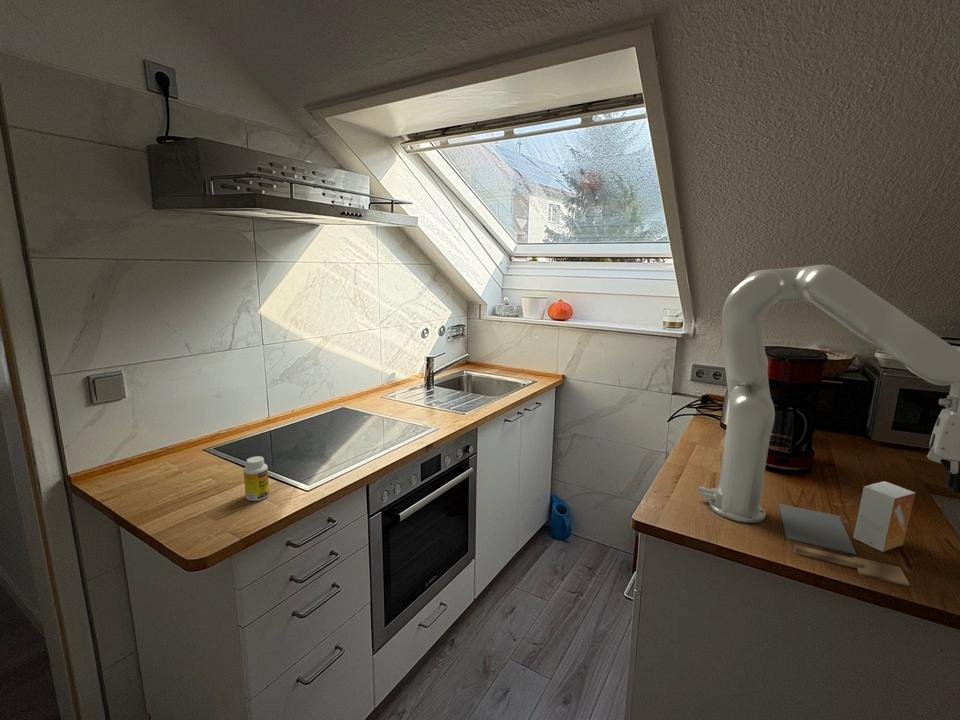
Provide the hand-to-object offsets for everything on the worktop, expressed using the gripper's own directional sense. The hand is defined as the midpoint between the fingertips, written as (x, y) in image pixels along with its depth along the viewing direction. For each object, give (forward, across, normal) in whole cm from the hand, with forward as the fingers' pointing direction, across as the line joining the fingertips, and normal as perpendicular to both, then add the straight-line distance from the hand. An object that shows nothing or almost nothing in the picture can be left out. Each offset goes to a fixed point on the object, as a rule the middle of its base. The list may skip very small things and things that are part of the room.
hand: (954, 490), depth 103 cm
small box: (+15, -11, 0) cm, 19 cm away
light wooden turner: (+15, -19, -14) cm, 28 cm away
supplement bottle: (+12, -150, -53) cm, 159 cm away
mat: (+15, -23, 0) cm, 28 cm away
